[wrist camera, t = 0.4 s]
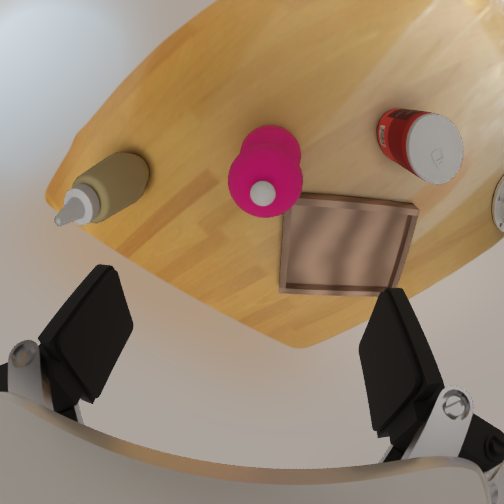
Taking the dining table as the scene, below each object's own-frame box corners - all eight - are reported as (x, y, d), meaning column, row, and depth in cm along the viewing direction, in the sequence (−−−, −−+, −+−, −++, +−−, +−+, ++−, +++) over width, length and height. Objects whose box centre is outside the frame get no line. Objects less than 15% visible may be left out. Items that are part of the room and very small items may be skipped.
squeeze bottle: (129, 204, 42) (62, 264, 26) (104, 164, 38) (26, 208, 23) (165, 181, 39) (99, 237, 24) (139, 137, 36) (57, 169, 20)
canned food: (397, 172, 35) (432, 198, 25) (364, 130, 32) (394, 142, 23) (431, 141, 31) (473, 158, 22) (400, 97, 29) (440, 100, 20)
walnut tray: (412, 203, 37) (419, 209, 34) (389, 287, 45) (393, 296, 43) (284, 191, 38) (285, 197, 36) (279, 283, 46) (278, 293, 44)
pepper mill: (308, 158, 35) (335, 214, 18) (264, 184, 38) (248, 261, 21) (279, 113, 33) (278, 122, 16) (234, 142, 35) (188, 183, 18)
